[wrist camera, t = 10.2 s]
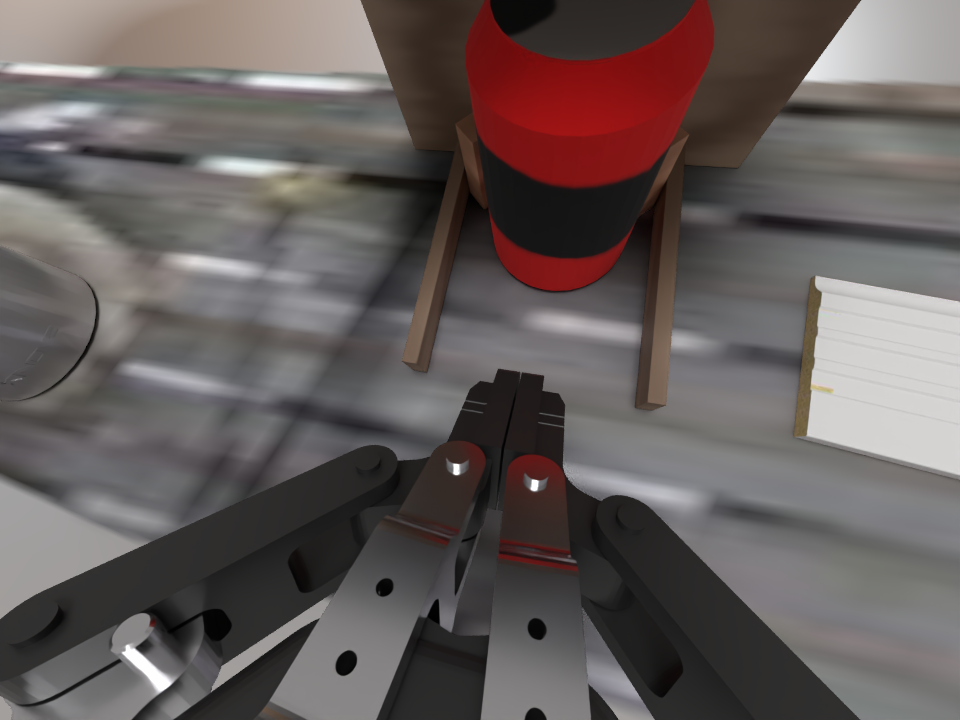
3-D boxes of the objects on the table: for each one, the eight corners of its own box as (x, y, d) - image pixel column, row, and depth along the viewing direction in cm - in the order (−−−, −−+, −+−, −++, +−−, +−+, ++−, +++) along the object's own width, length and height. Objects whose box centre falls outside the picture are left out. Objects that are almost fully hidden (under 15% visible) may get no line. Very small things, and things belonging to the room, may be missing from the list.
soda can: (478, 206, 23) (427, -49, 11) (593, 165, 22) (663, -141, 11) (518, 312, 21) (505, 130, 9) (646, 267, 20) (800, 21, 9)
